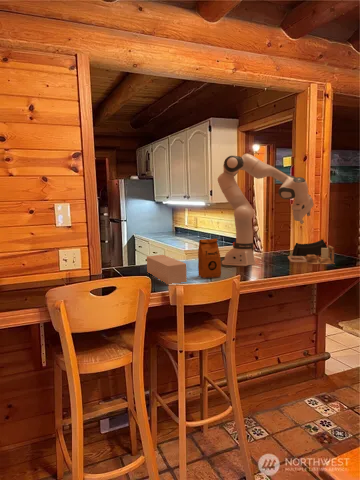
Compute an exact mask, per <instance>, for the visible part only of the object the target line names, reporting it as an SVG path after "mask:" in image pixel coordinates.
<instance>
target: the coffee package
mask: <svg viewBox="0 0 360 480" xmlns="http://www.w3.org/2000/svg"><path fill="white" fill-rule="evenodd" d="M218 244H219V243H218V238H209V239H208V238H207V239H205V238H203V239H199V240H198V251H197V256H198V257H197V258H198V261H197V262H198V264H197V265H198V266H197V268H198V269H197V270H198V276H199V277H201V278H204V279H209V278H221V276H222V260H221V253H220V250H219V245H218Z"/></svg>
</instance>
